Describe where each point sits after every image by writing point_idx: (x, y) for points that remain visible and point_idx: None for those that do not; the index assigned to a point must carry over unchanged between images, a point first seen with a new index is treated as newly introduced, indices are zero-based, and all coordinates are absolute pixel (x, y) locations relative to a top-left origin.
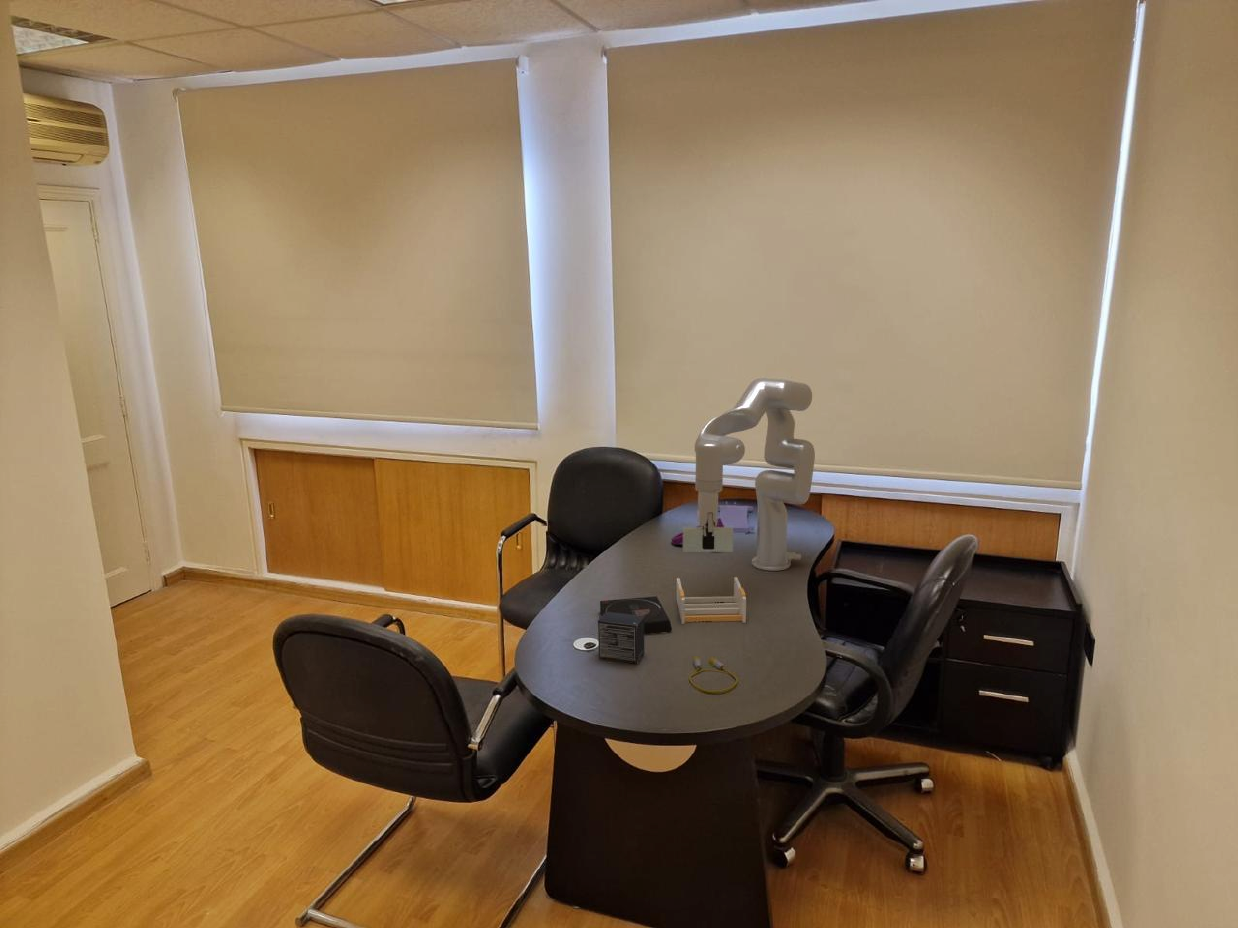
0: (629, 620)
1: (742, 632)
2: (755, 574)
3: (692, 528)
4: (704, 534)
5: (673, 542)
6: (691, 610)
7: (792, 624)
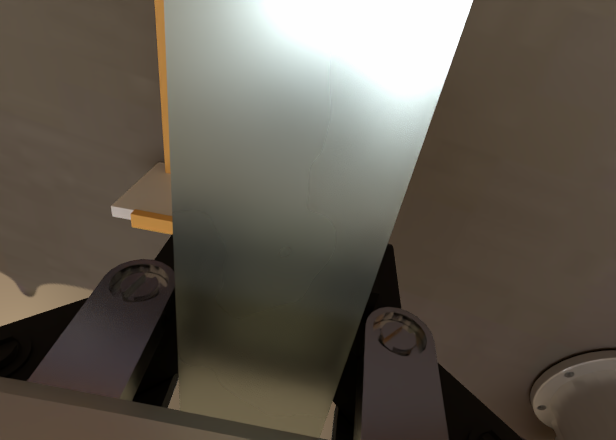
0: None
1: (83, 135)
2: (544, 329)
3: (279, 176)
4: (100, 284)
5: None
6: None
7: None
